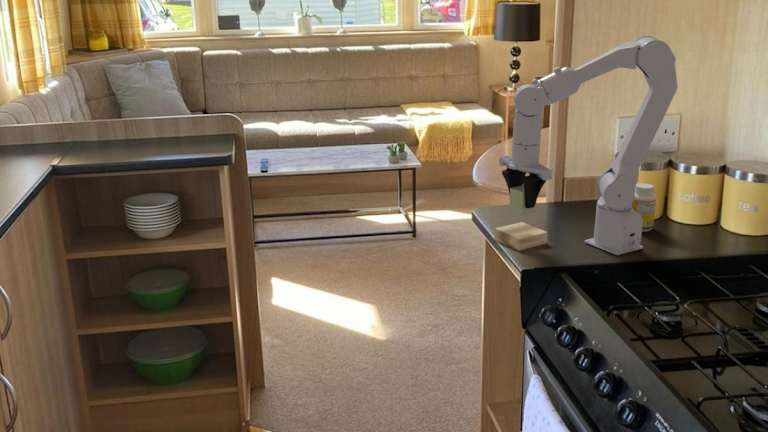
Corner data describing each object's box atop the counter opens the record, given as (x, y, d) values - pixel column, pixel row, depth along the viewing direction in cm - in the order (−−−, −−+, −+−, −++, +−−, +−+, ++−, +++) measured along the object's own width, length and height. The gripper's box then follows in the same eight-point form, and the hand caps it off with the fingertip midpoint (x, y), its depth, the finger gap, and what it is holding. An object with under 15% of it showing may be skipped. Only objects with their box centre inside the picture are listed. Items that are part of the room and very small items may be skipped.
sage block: (535, 211, 170) (537, 189, 168) (521, 215, 168) (522, 192, 166) (523, 207, 173) (524, 185, 171) (509, 210, 171) (510, 187, 169)
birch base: (546, 245, 171) (547, 232, 171) (518, 252, 167) (519, 238, 166) (521, 234, 178) (522, 222, 177) (494, 241, 174) (494, 228, 173)
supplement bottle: (628, 223, 184) (632, 181, 181) (653, 226, 182) (658, 183, 179) (626, 230, 179) (630, 187, 176) (652, 233, 177) (657, 190, 174)
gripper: (489, 138, 169) (486, 199, 174) (535, 152, 158) (531, 216, 162) (514, 134, 173) (511, 194, 177) (561, 147, 161) (556, 211, 166)
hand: (522, 204), depth 170 cm, fingers closed on sage block, 4 cm apart
